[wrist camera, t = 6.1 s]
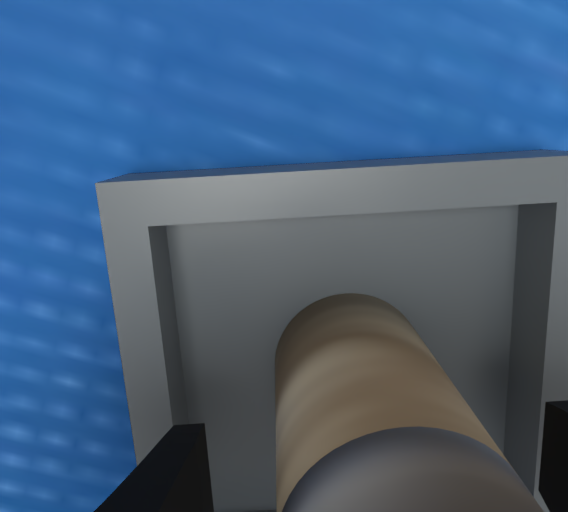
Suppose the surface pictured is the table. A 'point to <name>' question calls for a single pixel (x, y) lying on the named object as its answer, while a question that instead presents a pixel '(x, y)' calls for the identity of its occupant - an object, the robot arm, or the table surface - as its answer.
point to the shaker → (378, 421)
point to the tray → (337, 291)
